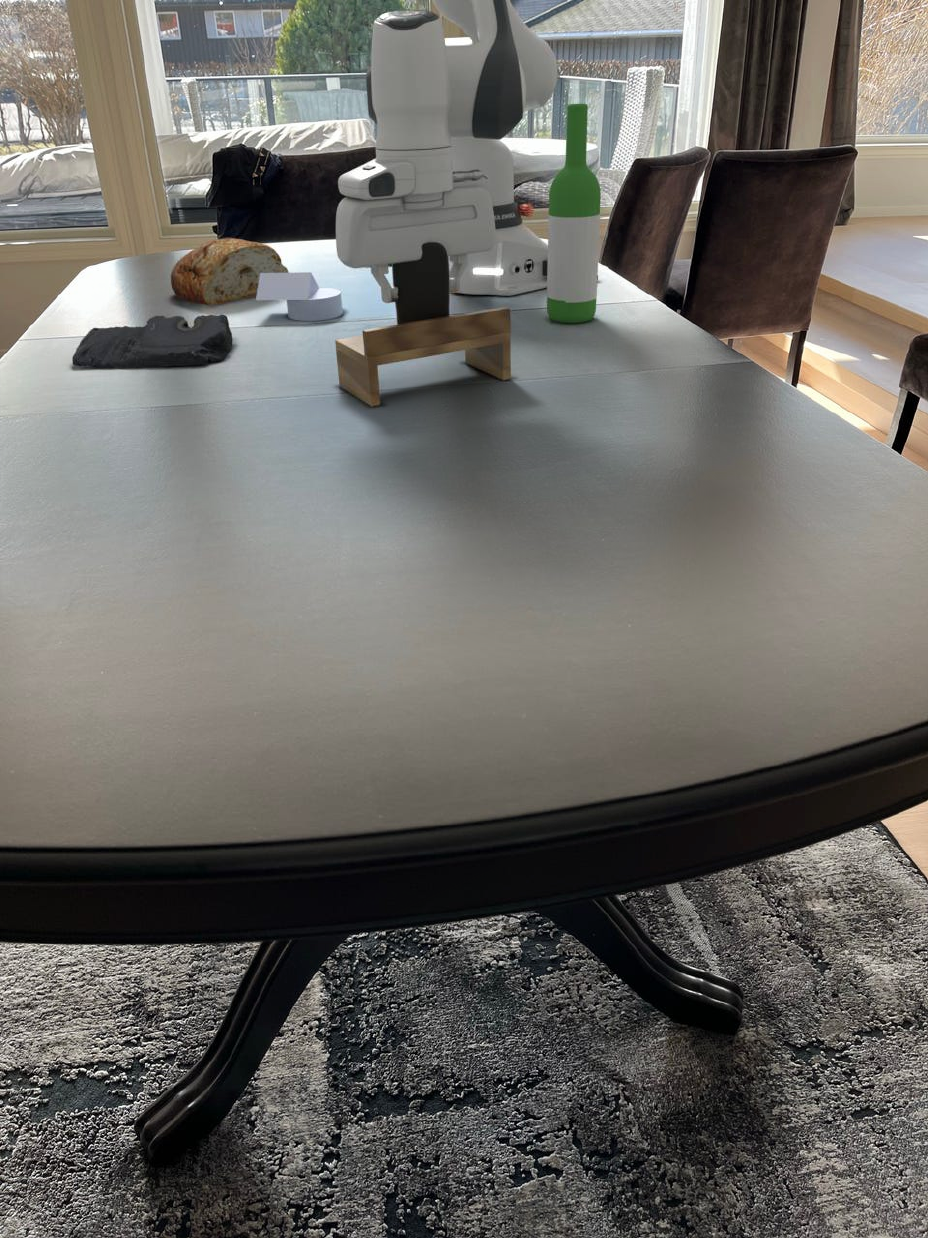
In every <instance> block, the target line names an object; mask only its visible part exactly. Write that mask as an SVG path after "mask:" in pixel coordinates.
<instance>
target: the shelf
mask: <svg viewBox="0 0 928 1238" xmlns="http://www.w3.org/2000/svg"><path fill="white" fill-rule="evenodd" d="M511 312H512V311H511V307H508V306H503V307H498V308H497V307H496V308H491V309H485V310H478V311H472V312H466V313H459V314H454V315H450V316H447V317H441V318H435V319H428V320H422V321H416V322H410V323H404V324H397V323H396V324H391V325H385V326H380V327H373V328H368V329H363V330H362V334H361V335H356V336H350V337H345V338H338V339H335V340H334V342H335V354H336V355H335V356H336V363H337V365H336V366H337V373H338V374H337V375H338V385H339V386H338V387H339V388H342V389H343V390H345V391H346V392H347V393H349V394H351V395H353V396H354V397H356V398H357V399H359V400H361V401H362V402H364V403H365V404H367V405H368V406H370V407H376V406H377V407H378V406H381V395H380V393H381V392H380V380H379V368H378V367H379V366H383V365H389V364H394V363H395V364H396V363H400V362H405V361H411V360H416V359H422V358H428V357H433V356H438V355H444V354H450V353H455V352H460V351H464V360H465V362H464V363H465V364H467V365H470V366H471V367H474V368H476V369H478V370H480V371H483V372H484V373H487V374H489V375H491V376H493V377H495V378H497V379H499V380H502V381H507V380H511V379H512V359H511V358H512V354H511V353H512V351H511V350H512V348H511V344H512V342H511V341H512V340H511V338H512V336H511V334H512V333H511V331H512V328H511V327H512V326H511V325H512V324H511V322H512V321H511V319H512V318H511Z"/></svg>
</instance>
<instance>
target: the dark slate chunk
mask: <svg viewBox="0 0 928 1238" xmlns="http://www.w3.org/2000/svg"><path fill="white" fill-rule="evenodd" d="M232 346H233V333H232V330H231V327H230V322H229V318H228V316H227V315H225V314H222V313H221V314H219V315H216V314H208V315H204V314H202V315H197V316H196V317H195V318H194V320H193V325H192V326H189V323H188V320H186V319H185V317H184V316H182V315H174V316H172V317H166V316H164V315H154V316H152V317H150V318H148V320H147V321H146V324H145V325H144V326H141V325H140V326H128V325H124V326H113V327H111V326H109V327H93V328H91V329H90V330H89V331H88V332H87V333H86V335H85V336H84V337H83V338H82V339H81V341H80V342H79V345H78V346H77V348H76V349H75V352H74V353H73V355H72V358H71V360H72V366H73V365H74V366H76V367H84V368H85V367H88V368H94V369H114V368H119V369H124V368H158V367H183V366H184V367H187V366H201V365H206V364H208V362H209V363H210V362H220V361H222V360H223V359H225V358H226V354H227V353H229V351H231V349H232Z"/></svg>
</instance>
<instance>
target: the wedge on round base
mask: <svg viewBox="0 0 928 1238" xmlns="http://www.w3.org/2000/svg"><path fill="white" fill-rule="evenodd" d="M255 301H286V308H287V315H288V318H289V319H290V320H295V321H301V322H303V321H304V322H315V321H316V322H317V321H326V320H331V319H335V318H339V317H340V316H342V315H343V313H344V312H343V302H342V301H343V300H342V291H341V290H340V289H336V288H331V287H320V286H319V285H318V283H317V281H316V279H315V277H314V275H313V273H312V272H310V271H307V272H301V271H299V272H289V273H260V278H259V284H258V290H257V295H256V298H255Z"/></svg>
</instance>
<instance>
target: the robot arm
mask: <svg viewBox="0 0 928 1238" xmlns="http://www.w3.org/2000/svg"><path fill="white" fill-rule="evenodd" d="M431 1H432V3H433V5H434V7H435V9H436V11H437V12H438V13H439V14H440V15H441V16H442V17H443V18H445V19H446V20H447V21H449V22H451V23H453V24H455V25H456V26H458V27H459V28H460V29H461V30H462V31H463V32H464V33H465V35H467V36H466V37H465V36H463V37H445V36H446V35H445V30H444V25H443V21H442V18H441V16H440V15H438V14H437V13H434V12H433V11H430V10H423V9H401V10H400V9H399V10H394V11H388V12H385V13H383V14H381V15H380V16H378V17H376V19H375V20H374V21H373V26H372V36H371V56H370V67H369V68H368V69H367V70H366V73H365V83H366V84H365V85H366V86H365V87H366V97H367V111H368V112H367V113H368V117H369V118H370V119H371V120H372V121H373V123H375V124H376V126H377V129H376V130H377V131H376V132H377V133H376V139H375V158H373V159H372V160H370V161H367V162H366V163H364V164H361V165H359V166H357V167H356V168H353V169H351V170H350V171H347V172H345V173H343V174H341V175H340V176H339V177H338V180H337V186H338V191H339V193H340V194H341V195H343V196H345V197H343V198H342V199H341V200H340V202H339V203H338V206H337V209H336V215H335V246H336V254H337V255H336V256H337V258H338V259H339V260H340V262H341V263H342V264H343V266H346V267H348V268H351V269H363V268H370V274H371V275H372V276H373V278H374V279H375V281H376V283H377V284H378V286H379V287H380V292H381V301H382V302H383V303H385V304H392V303H395V302H397V301H398V296H397V294H398V287H396V286H393V284H390V282H389V280H388V278H387V277H386V275H388V274H389V272H390V270H389V265H388V264H394V263H401V262H409V261H416V260H419V259H421V256H422V244H424V243H428V242H432V241H439V242H441V243H443V244H444V245H445V247H446V248H447V251H448V256H449V269H450V295H451V294H464V295H476V296H477V295H482V296H483V295H489V296H490V295H491V296H503V297H505V296H507V297H510V296H515V295H520V294H524V293H528V292H533V291H537V290H542V289H547V268H548V243H546V242H545V241H543V240H542V238H540V237H539V236H537V235H536V234H535V233H534V232H533V231H532V230H530V229H529V228H528V227H527V226H526V225H524V222H523V218H522V217H526V218H532V216H533V214H534V212H535V210H534V207H533V205H532V204H526V203H523V204H519V203H517V202H516V201H515V190H514V189H515V160H514V159H515V158H514V156H513V154H512V152H511V150H510V148H509V147H508V146H507V145H506V144H505V143H504V142H502V141H501V140H502V139H503V138H505V137H506V136H507V135H509V134H510V133H511V131H513V130H514V129H515V128H516V127H517V126H518V124H520V122H521V121H522V120H523V117H524V113H525V112H527V111H531V110H535V109H538V108H542V107H545V105H546V104H548V102H549V101H550V100H551V97H552V96H553V94H554V91H555V89H556V87H557V81H558V64H557V59H556V56H555V54H554V52H553V50H552V47H550V45H549V43H548V42H547V41H546V40H545V39H543V38H542V37H540V36H539V35H537V34H536V33H535V32H534V31H532V29H530V28H529V27H528V25H526V24H525V22H524V21H523V20H522V18H521V17H520V15H519V14H518V13H517V11H516V9H515V7H514V6H513V4H512V2H511V0H431ZM598 280H599V276H598V277H597V281H598Z"/></svg>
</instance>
